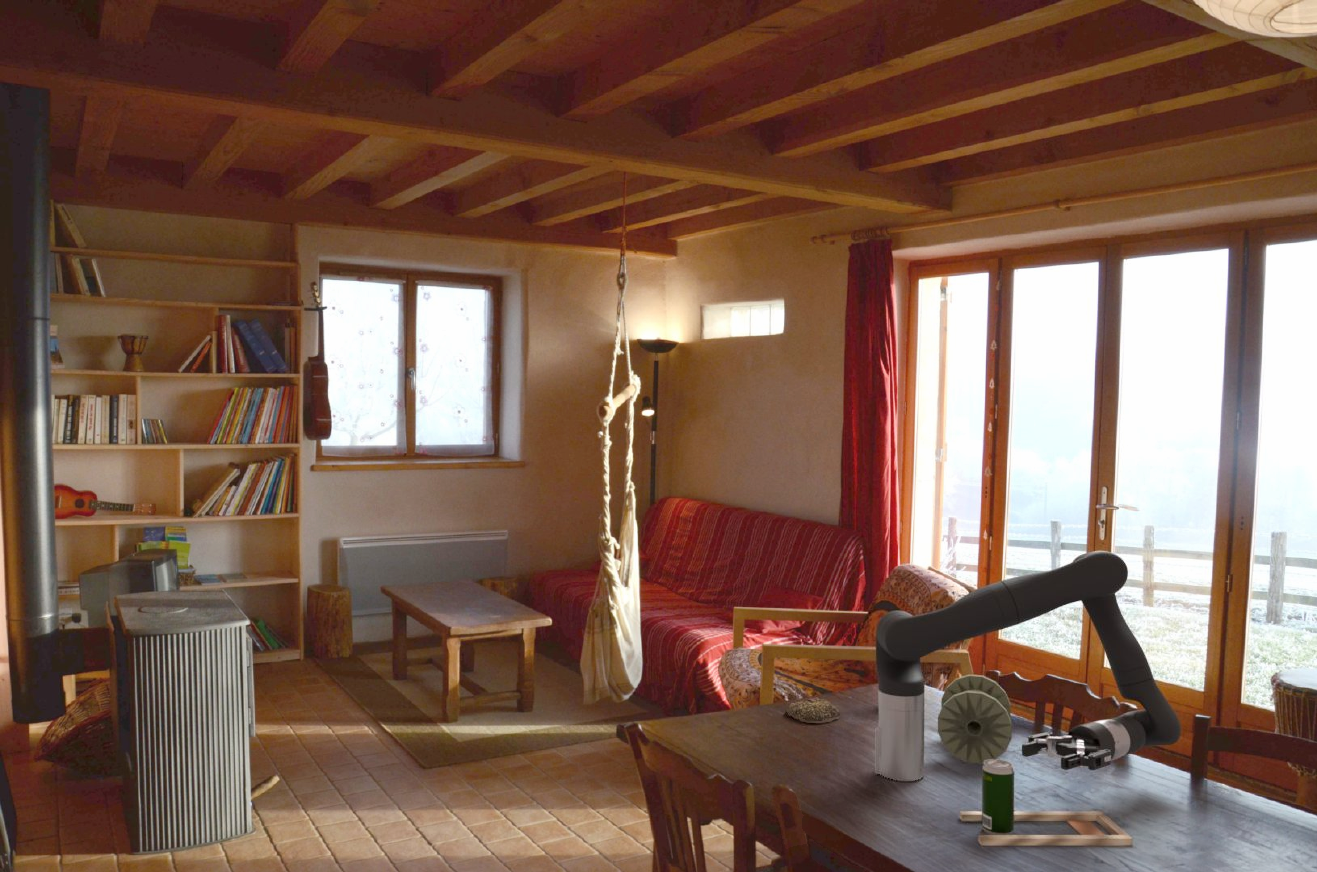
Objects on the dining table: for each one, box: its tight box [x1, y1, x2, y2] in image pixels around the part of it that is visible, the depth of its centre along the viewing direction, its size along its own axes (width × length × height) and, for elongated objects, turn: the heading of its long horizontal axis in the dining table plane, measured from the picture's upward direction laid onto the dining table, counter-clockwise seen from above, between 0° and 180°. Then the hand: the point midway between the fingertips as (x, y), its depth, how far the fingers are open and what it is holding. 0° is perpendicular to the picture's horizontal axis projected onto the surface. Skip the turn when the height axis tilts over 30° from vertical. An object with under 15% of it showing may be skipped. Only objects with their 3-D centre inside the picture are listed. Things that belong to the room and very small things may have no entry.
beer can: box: [981, 758, 1015, 835], centre depth 176 cm, size 5×5×12 cm
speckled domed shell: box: [785, 697, 842, 721], centre depth 246 cm, size 13×12×5 cm
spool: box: [937, 674, 1013, 765], centre depth 220 cm, size 16×15×15 cm
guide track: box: [959, 810, 1134, 847], centre depth 176 cm, size 26×12×1 cm, turn 90°
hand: (1042, 757), depth 182 cm, fingers open, 8 cm apart
